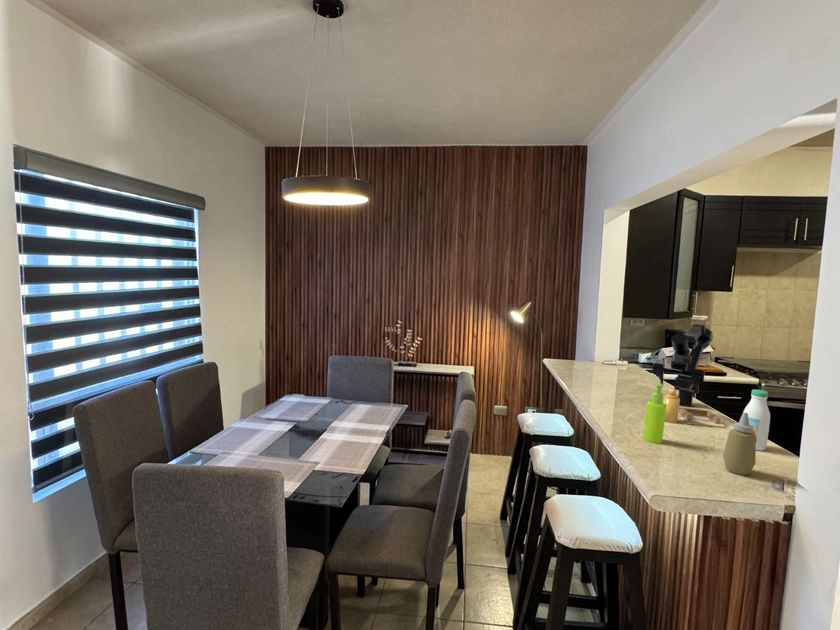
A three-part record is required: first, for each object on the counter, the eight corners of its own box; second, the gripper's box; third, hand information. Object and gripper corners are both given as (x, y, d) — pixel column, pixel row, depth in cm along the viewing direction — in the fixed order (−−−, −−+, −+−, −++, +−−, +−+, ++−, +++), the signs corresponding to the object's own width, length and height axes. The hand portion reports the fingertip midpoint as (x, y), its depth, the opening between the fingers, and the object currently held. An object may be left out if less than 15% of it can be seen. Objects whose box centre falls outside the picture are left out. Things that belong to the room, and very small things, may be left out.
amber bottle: (659, 417, 187) (663, 386, 186) (674, 419, 186) (677, 388, 185) (663, 422, 181) (667, 390, 180) (679, 423, 180) (683, 391, 179)
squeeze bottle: (714, 465, 142) (722, 408, 140) (739, 465, 142) (747, 409, 140) (734, 477, 134) (743, 417, 132) (760, 477, 134) (769, 418, 132)
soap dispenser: (659, 437, 163) (666, 382, 161) (663, 444, 156) (670, 387, 154) (641, 434, 165) (648, 380, 163) (644, 441, 158) (651, 384, 156)
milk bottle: (756, 443, 163) (764, 388, 161) (771, 452, 156) (779, 394, 153) (733, 441, 164) (741, 387, 162) (747, 450, 156) (755, 392, 154)
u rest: (674, 413, 194) (675, 406, 194) (710, 417, 192) (711, 410, 192) (687, 424, 181) (688, 416, 180) (726, 428, 178) (727, 420, 178)
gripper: (656, 343, 195) (648, 373, 187) (707, 350, 184) (701, 382, 177) (656, 359, 202) (649, 388, 194) (706, 367, 192) (700, 398, 184)
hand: (674, 388), depth 187 cm, fingers open, 9 cm apart
